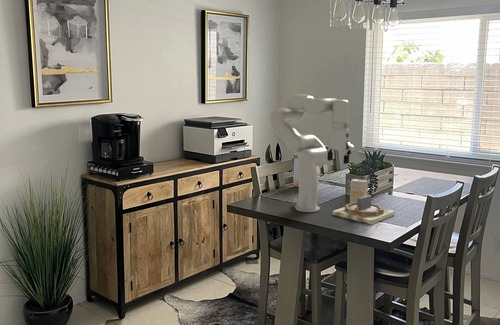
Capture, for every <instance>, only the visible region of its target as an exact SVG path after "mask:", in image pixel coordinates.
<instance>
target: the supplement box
mask: <svg viewBox="0 0 500 325" xmlns="http://www.w3.org/2000/svg"><path fill="white" fill-rule="evenodd" d="M368 185H369V181H368V180H367V179H359V178H352V179H351V180H350V188H349V189H350V190H349V191H350V192H349V203H352V202H357V198H359V197H363V196H366V195H368V191H369V190H368V188H369V187H368Z"/></svg>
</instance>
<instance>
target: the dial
mask: <svg viewBox="0 0 500 325" xmlns="http://www.w3.org/2000/svg"><path fill="white" fill-rule="evenodd" d="M371 203H372V195H371V194H367V195H366V196H363V197H359V198H357V205H353V206H350V209H353V210H355V209H356V210H358V211H377V209H378V208H376V207H374V206H371Z"/></svg>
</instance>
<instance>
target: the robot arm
mask: <svg viewBox="0 0 500 325" xmlns="http://www.w3.org/2000/svg"><path fill="white" fill-rule="evenodd" d="M284 101H285V102H284V103H285V104H284V106H286V107H284V108H283V107H281V108H276V109H274V110H273V111H272V112H271V113H270V116H269V121H270V125H271V128H272V130H273V131H274V132H275V133H276V134H277V135H278V136H279V137H280V138H281V139H282V140H283V142H284V143H285V144H286V145H287V147H288V148H289V149H290V150H291V151H292V152H293V154H294V153H298V164H299V187H298V198H297V197H296V198H294V199H293V201H292V202H293V203H295V204H296V205H295V208H294V209H295V210H296V211H298V212H303V213H315V212H319V211H320V209H321V208H320V206H319V205H318V186H319V185H318V184H319V181H318V180H319V176H318V171H317V172H316V170H315V167H322V166H326V165H328V164H329V163H330V161H333V158H334V153H333V152H334V151H333V150H335V151H341V152H343V154H344V155H343V164H349V162H350V156H351V154H352V153H353V151H354V149H355V146H354V145H353V144H351V133H350V129H349V127H350V125H349V104H350V103H349V101H348V100H347V99H338V98H336V97H330V98H329V97H328V98H327V97H325V98H324V97H322V98H315V97H313V96H312V95H309V94H307V93H301V94H300V93H299V94H298V93H295V94H290V95H288V96H287V97H286V99H285V100H284ZM307 114H311V115H331V128H330V129H329V134H328V140H327V141H324V142H321V140H320V139H319V138H318V137H316V136H315V135H314V134H300V133H299V132H298V130H296V128H294V127H293V126H291V124H296V123H299V122H300V121H302V120H303V118H304V117H305V116H306V115H307Z"/></svg>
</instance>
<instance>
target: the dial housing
mask: <svg viewBox="0 0 500 325" xmlns="http://www.w3.org/2000/svg"><path fill="white" fill-rule="evenodd" d="M353 205H357V202H352V203H350V202H349V203H347V204H345V205H344V206H343V207H340V208H338V209H333V210H332V215H333V216H336V217H341V218H344V219H349V220H353V221H356V222H360V223H361V222H362V223H365V224H369V225H374V224H376V223H379V222H382V221H383V220H386V219H388V218H390V217H393V216H395V212H396V211H395V210H391V209H387V208H383V207H382V206H381V205H380V204H377V203H372V202H371V206H374V207H376V208H378V209H377V211H358V210H356V209H355V210H353V209H350V206H353Z"/></svg>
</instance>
